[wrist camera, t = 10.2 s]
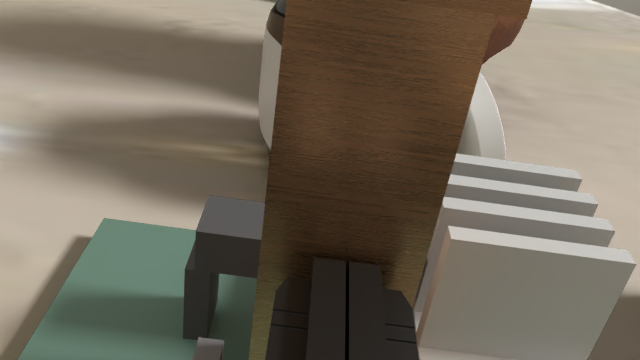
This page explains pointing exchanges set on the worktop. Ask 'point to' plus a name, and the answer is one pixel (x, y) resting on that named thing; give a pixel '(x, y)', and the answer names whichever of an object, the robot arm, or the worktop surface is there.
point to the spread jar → (478, 131)
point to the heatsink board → (136, 300)
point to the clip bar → (366, 135)
